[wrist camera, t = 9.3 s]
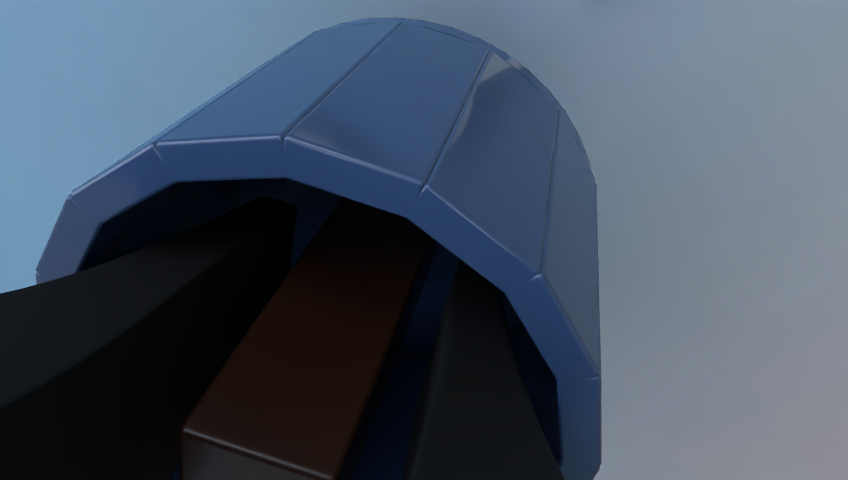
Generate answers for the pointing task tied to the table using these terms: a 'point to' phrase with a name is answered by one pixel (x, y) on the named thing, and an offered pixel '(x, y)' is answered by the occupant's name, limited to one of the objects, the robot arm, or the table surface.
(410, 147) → the cup
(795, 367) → the table surface
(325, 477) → the dark brown square post
